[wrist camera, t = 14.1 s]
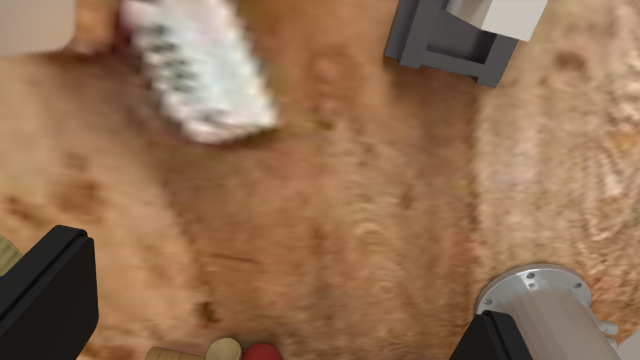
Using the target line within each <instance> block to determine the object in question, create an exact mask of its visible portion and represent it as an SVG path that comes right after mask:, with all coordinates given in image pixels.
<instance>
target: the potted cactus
mask: <svg viewBox="0 0 640 360" xmlns="http://www.w3.org/2000/svg"><path fill="white" fill-rule="evenodd" d="M22 257H23V256H22V255H21V253H20V252H19V251H18V250H17V248H16V247H15V246H14V245H13V244H12V243H10V242H9V241H8V240H7V239H5V238H4V237H2V236H1V235H0V276H2V275H4V274H5V273H6V272H7V271H8V270H9V269H10V268H11V267H12V266H14V265H15V264H16V263H17V262H18V261H19V260H20V259H21V258H22Z"/></svg>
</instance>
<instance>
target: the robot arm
mask: <svg viewBox="0 0 640 360" xmlns="http://www.w3.org/2000/svg"><path fill="white" fill-rule="evenodd" d="M591 304H592V296H591V292H590V289H589V288H588V286H587V285H586V283H585V282H584V280H583V279H582V278H581V277H580V276H579V275H578V274H577V273H575V272H574V271H572V270H571V269H568V268H566V267H563V266H559V265H555V264H542V263H540V264H530V265H525V266H521V267H517V268H514V269H512V270H509V271H507V272H505V273H503V274H501V275H499V276H498V277H496V278H495V279H494V280H492V281H491V282H490V283H489V284H488V285H487V286H486V287H485V288H484V289H483V290H482V292H481V293H480V295H479V296H478V299H477V301H476V304H475V317H474V318H473V320H472V322H471V323H470V325H469V327H468V328H467V330H466V332H465V333H464V335H463V337H462V338H461V340H460V342H459V344H458V345H457V347H456V349H455V350H454V352H453V354H452V355H451V357H450V359H449V360H621V359H620V358H619V356H618V355H617V353H616V350H617V343H616V341H615V339H614V338H612V337H609V336H604V335H603V333H606V334H611V335H615V334H617V332H618V327H617V324H615V323H614V322H609V321H604V320H598V318H597V317H596V315H595V314H594V313H593V311H592V310H591ZM98 319H99V312H98V296H97V281H96V265H95V249H94V240H93V238H90V237H88V235H87V232H86V230H83V229H78V228H73V227H68V226H63V225H57V226H55V227H53V228H52V229H51V230H50V231H49V232H48V233H47V234H46V235H45V236H44V237H43V238H42V239H41V240H40V241H39V242H38V243H36V244H35V245H34V246H33V247H32V248H31V249H30V250H29V251H28V252H27V253H26V254H25V255H24V256H23V257H22V258H21V259H20V260H19V261H18V262H17V263H16V264H15V265H14V266H12V267H11V268H10V269H9V270H8V271H7V272H6V273H5V274H4V275H2V276H0V360H76V359H77V357H78V356H79V354H80V353H81V351H82V349H83V348H84V346H85V345H86V343H87V342H88V340H89V339H90V337H91V336H92V334H93V332H94V331H95V328H96V326H97V323H98Z"/></svg>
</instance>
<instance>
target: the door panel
mask: <svg viewBox="0 0 640 360" xmlns="http://www.w3.org/2000/svg"><path fill="white" fill-rule="evenodd" d="M547 2H548V0H449V2H448V4H447V7H446V10H445V11H447V12H449V13H451V14H453V15H455V16H456V17H458V18H460V19H462V20H464V21H466V22H468V23H470V24H472V25H474V26H476V27H477V28H479V29H482V30H485V31H489V32H493V33H497V34H501V35H505V36H508V37H512V38H516V39H520V40H524V41H527V42H529V40H530V38H531V36H532V33H533V31H534V29H535V27H536V25H537V23H538V21H539V19H540V16H541V14H542V12H543V10H544V8H545V6H546V4H547Z"/></svg>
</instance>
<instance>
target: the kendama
mask: <svg viewBox="0 0 640 360" xmlns="http://www.w3.org/2000/svg"><path fill="white" fill-rule="evenodd" d="M243 351H244V352H243ZM243 351H242V349H241V347H240V345H239V343H238V342H237V341H236V340H234V339H232V338H222V339H219V340H217V341H215V342H214V343H213V344H211V345H210V347H209V348H208V350H207V352H206V356H205V357H202V356H198V355H194V354H188V353H183V352H177V351H171V350H166V349H161V348H157V347H152V348H151V349H150V350H149V351H148V353H147V355H146V358H145V360H284V358H283V356H282V354H281V352H280V351H279V350H278V349H277V348H275V347H274V346H272V345H270V344H266V343H258V344H254V345H252V346H250V347H249V348H247V349H246V350H243ZM242 352H243V353H242Z"/></svg>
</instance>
